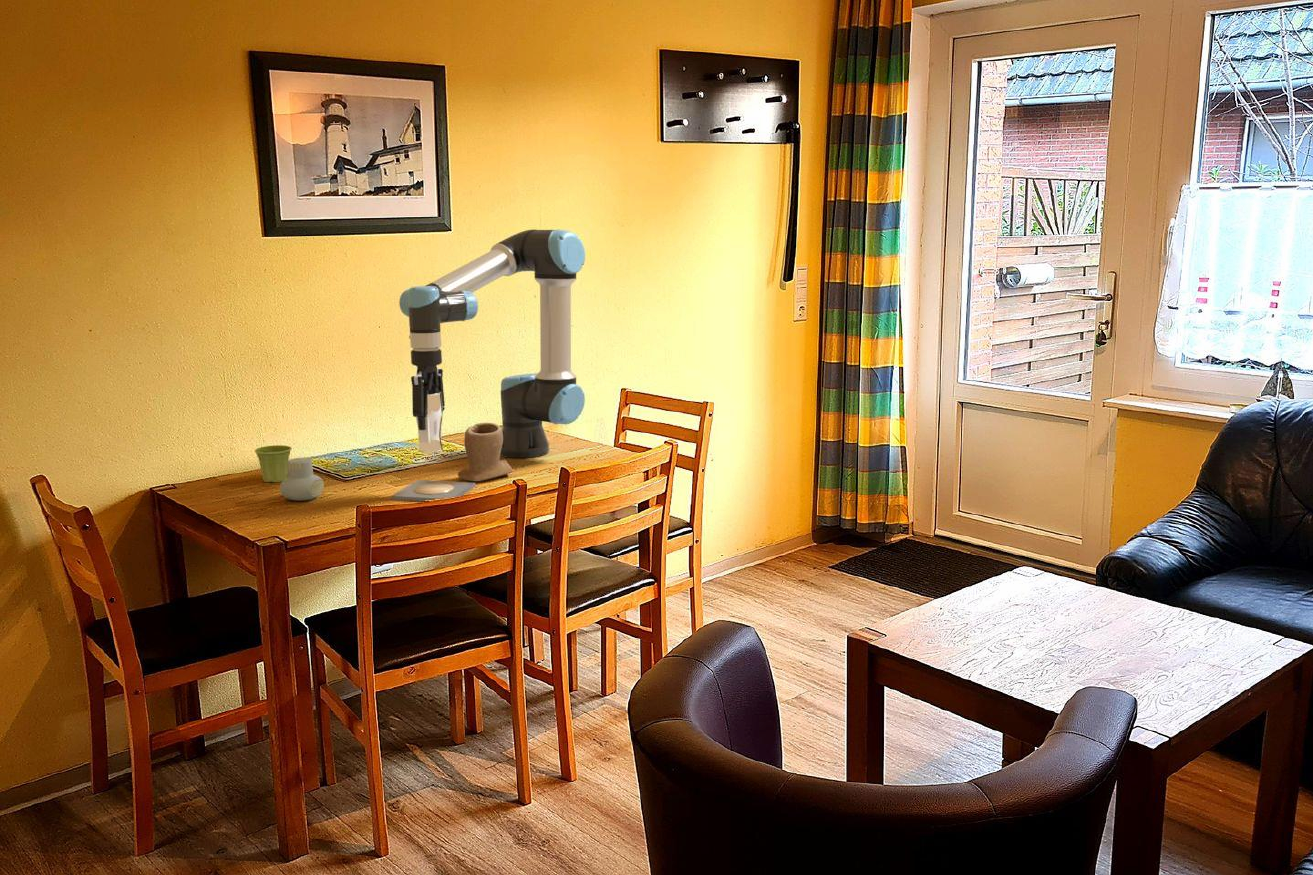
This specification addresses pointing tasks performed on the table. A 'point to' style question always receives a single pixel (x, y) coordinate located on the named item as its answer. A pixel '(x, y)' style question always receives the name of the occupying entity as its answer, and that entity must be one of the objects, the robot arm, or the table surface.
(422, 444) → the beer glass
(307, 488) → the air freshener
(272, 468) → the plant pot
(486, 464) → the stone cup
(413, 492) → the slate board
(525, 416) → the robot arm
